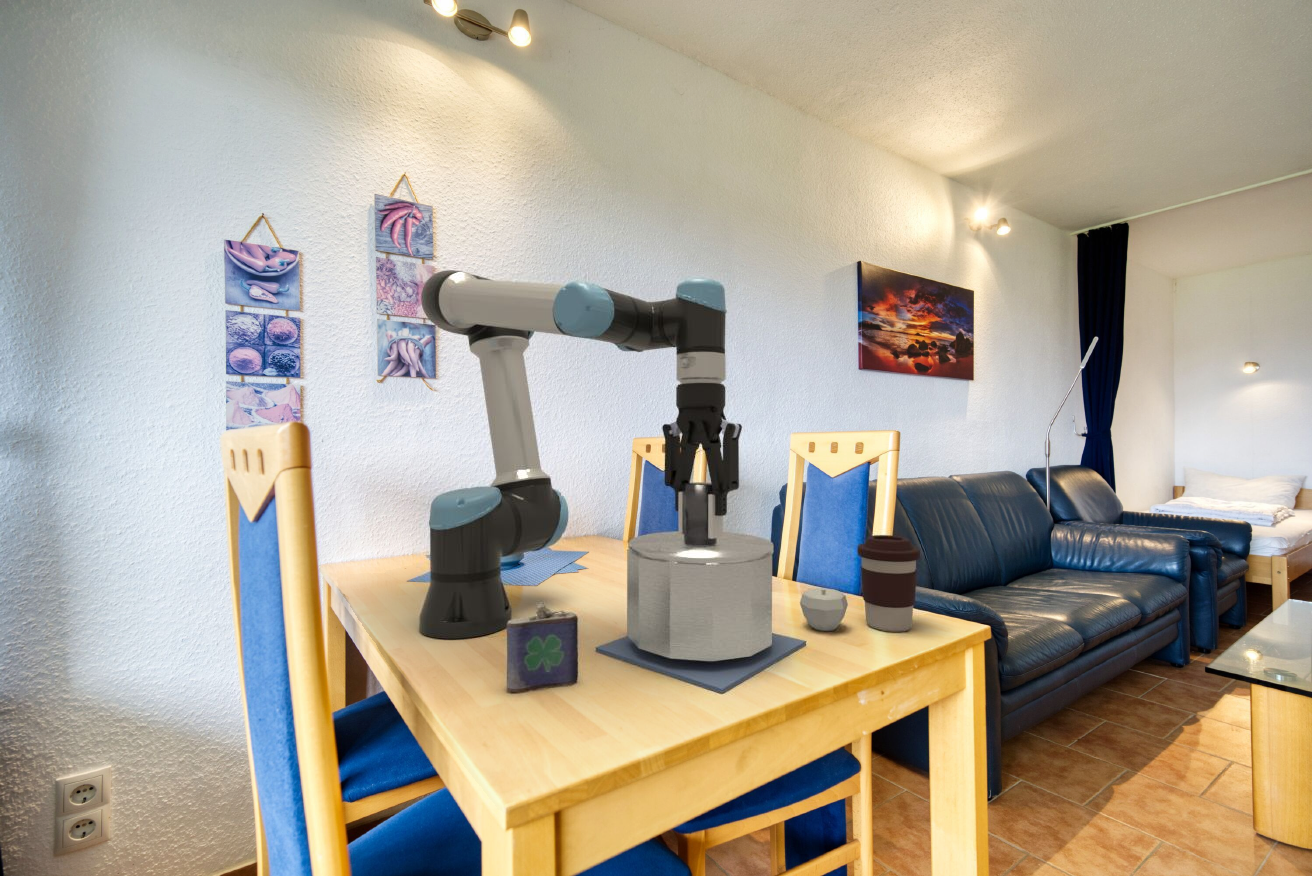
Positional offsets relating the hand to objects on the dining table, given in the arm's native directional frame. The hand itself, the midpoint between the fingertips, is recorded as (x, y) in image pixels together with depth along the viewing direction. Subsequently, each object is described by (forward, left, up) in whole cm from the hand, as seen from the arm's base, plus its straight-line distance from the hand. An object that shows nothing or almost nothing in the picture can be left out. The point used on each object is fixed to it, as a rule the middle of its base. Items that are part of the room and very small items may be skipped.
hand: (700, 534), depth 91 cm
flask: (-8, -24, -18) cm, 31 cm away
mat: (0, 0, -17) cm, 17 cm away
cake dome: (0, 0, -15) cm, 15 cm away
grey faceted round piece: (+10, +21, -18) cm, 29 cm away
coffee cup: (+18, +29, -18) cm, 38 cm away
